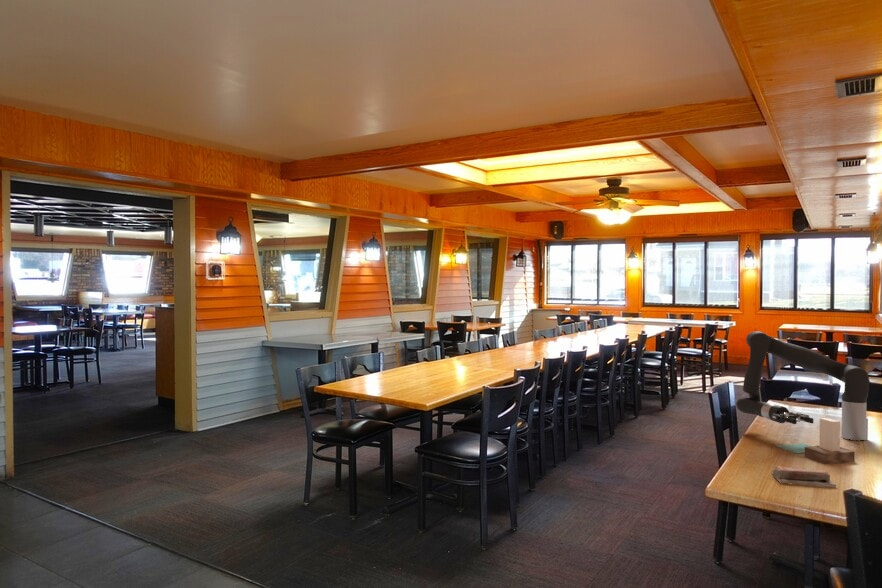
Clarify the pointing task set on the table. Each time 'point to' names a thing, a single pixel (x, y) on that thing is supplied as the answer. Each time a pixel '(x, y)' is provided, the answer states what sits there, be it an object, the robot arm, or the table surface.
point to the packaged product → (803, 476)
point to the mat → (795, 448)
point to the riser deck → (829, 455)
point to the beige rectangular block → (829, 434)
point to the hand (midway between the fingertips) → (804, 421)
